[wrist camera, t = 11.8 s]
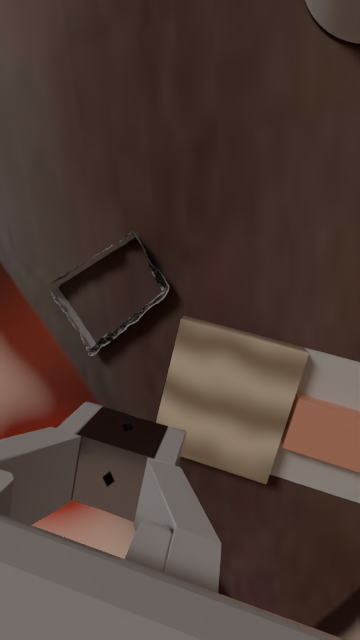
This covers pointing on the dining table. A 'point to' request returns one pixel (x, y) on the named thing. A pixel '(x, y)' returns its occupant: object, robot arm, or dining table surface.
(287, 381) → the beige square slab
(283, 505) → the dining table surface
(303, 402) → the pink flat block
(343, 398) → the mat
